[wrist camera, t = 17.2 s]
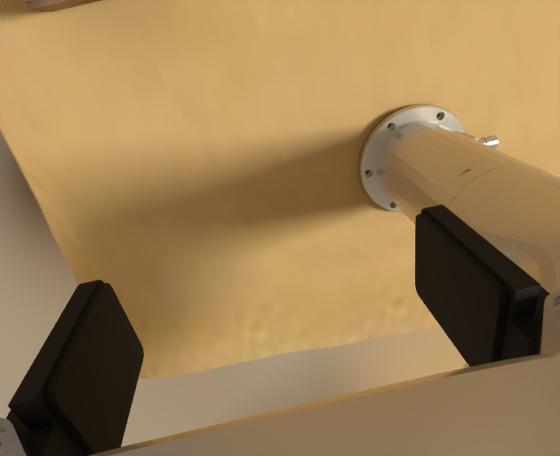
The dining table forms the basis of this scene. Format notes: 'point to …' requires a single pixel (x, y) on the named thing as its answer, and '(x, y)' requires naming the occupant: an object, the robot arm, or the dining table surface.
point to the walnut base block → (56, 4)
